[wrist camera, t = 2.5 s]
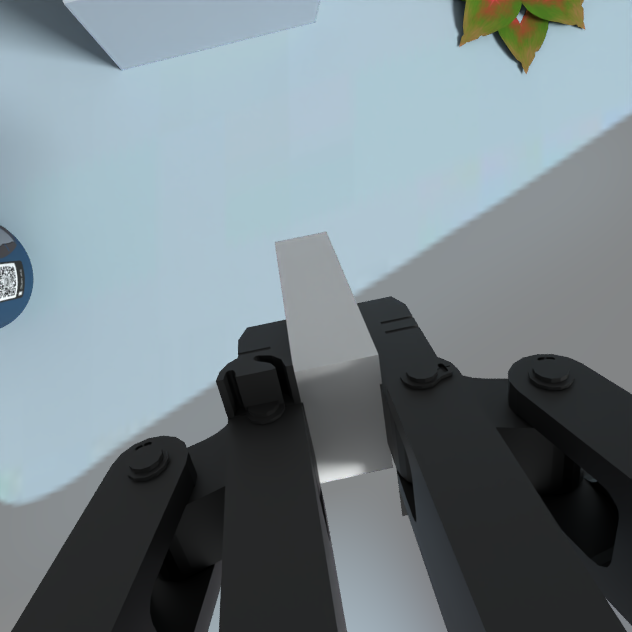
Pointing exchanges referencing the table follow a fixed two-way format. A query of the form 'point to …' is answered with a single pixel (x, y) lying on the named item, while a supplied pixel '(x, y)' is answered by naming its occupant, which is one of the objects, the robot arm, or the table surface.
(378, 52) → the table surface
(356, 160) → the table surface
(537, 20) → the lily flower
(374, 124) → the table surface
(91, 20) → the white block
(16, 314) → the soda can
